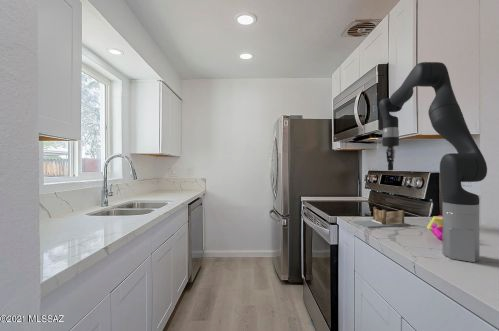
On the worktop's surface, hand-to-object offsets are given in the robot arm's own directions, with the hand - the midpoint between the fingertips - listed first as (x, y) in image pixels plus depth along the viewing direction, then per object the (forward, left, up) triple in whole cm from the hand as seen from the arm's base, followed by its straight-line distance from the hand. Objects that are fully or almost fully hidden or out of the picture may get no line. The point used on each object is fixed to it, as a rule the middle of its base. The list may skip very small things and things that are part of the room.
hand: (390, 170), depth 135 cm
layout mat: (-7, +4, -27) cm, 28 cm away
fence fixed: (-5, -2, -27) cm, 28 cm away
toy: (-23, -21, -27) cm, 42 cm away
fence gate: (-4, +5, -26) cm, 27 cm away
